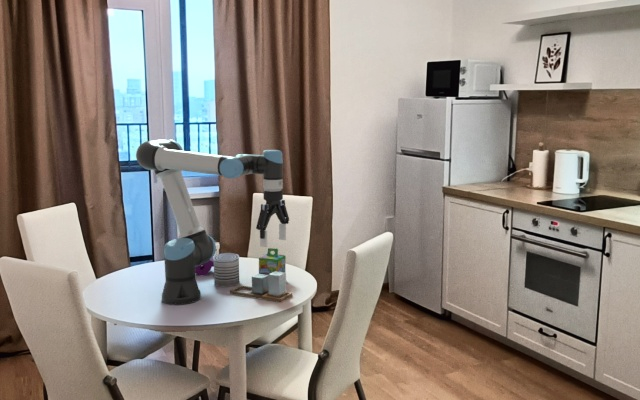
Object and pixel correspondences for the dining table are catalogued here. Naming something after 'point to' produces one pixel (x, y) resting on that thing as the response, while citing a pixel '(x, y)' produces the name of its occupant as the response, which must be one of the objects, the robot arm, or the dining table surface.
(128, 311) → the dining table surface
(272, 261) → the chalk box
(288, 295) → the wooden ladder rack
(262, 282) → the gray square block
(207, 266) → the mounting bracket
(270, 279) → the grey square block
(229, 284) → the can
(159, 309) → the dining table surface
